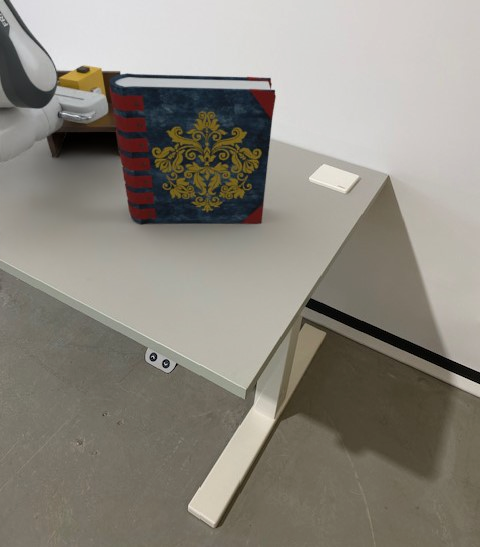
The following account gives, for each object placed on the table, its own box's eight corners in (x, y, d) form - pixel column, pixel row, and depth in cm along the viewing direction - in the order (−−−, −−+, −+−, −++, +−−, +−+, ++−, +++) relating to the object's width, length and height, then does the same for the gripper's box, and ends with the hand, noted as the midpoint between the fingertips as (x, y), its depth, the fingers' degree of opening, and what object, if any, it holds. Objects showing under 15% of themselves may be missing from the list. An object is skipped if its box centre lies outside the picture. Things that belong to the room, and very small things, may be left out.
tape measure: (86, 124, 92) (77, 77, 85) (68, 120, 92) (57, 74, 86) (108, 108, 98) (100, 64, 91) (91, 105, 99) (82, 61, 92)
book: (127, 225, 78) (104, 87, 60) (131, 204, 83) (111, 71, 65) (262, 225, 80) (276, 92, 63) (258, 204, 85) (271, 76, 68)
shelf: (51, 157, 94) (34, 93, 85) (62, 129, 104) (47, 70, 95) (124, 155, 96) (115, 93, 87) (128, 129, 106) (120, 70, 97)
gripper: (82, 104, 76) (120, 80, 86) (-13, 86, 80) (34, 64, 90) (89, 137, 81) (124, 110, 90) (-1, 118, 84) (42, 94, 94)
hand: (78, 87), depth 90 cm, fingers open, 8 cm apart
